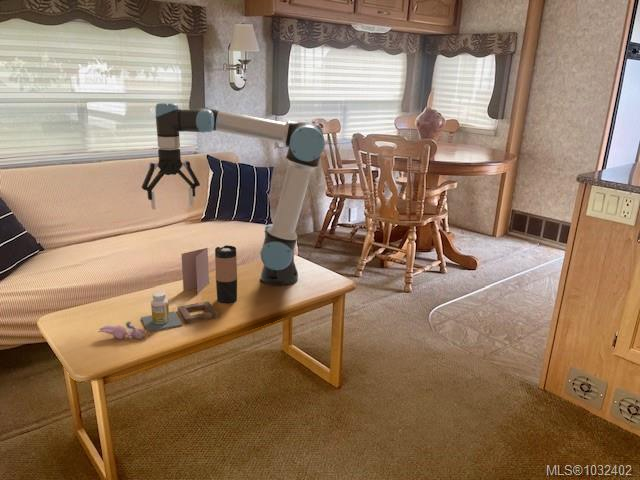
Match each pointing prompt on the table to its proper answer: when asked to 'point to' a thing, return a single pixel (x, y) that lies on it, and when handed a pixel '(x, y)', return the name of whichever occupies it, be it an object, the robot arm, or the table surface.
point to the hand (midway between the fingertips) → (172, 207)
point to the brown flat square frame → (198, 317)
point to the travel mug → (226, 274)
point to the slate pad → (153, 327)
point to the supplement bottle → (160, 308)
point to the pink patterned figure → (124, 331)
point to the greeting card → (195, 269)
